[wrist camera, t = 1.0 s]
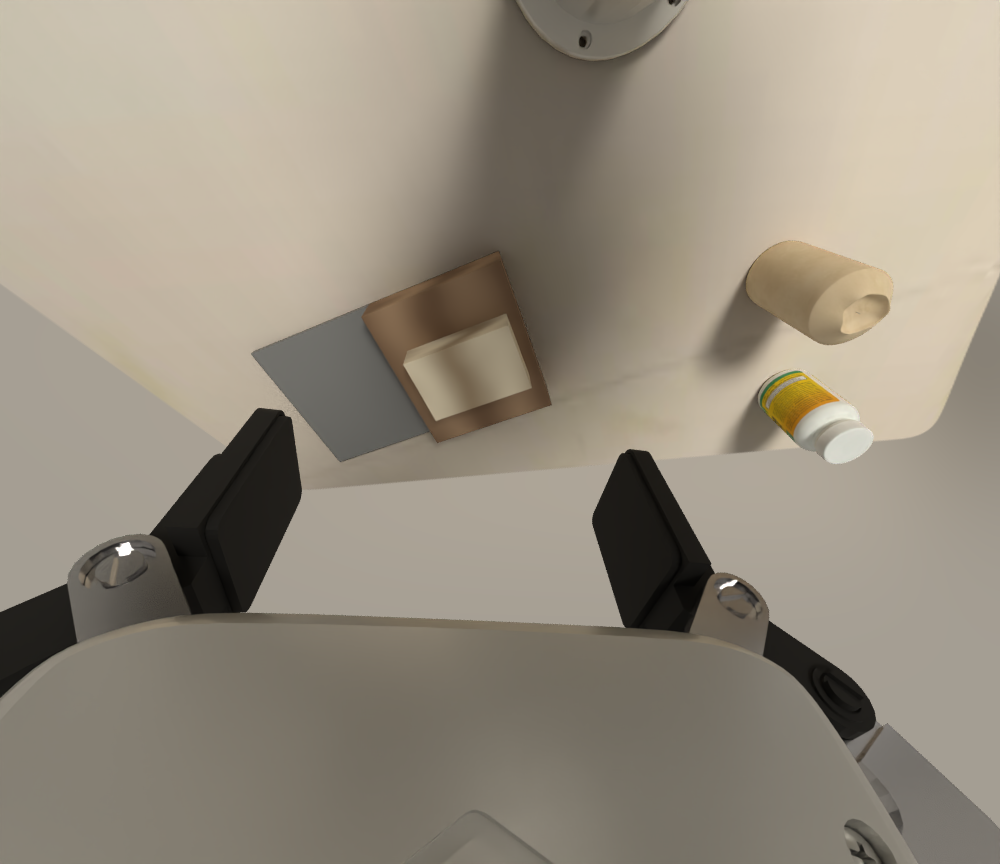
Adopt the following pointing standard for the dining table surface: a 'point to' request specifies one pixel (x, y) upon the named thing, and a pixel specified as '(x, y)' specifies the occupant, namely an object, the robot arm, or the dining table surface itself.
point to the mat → (343, 386)
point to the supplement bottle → (814, 416)
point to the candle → (819, 291)
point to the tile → (468, 368)
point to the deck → (447, 311)
